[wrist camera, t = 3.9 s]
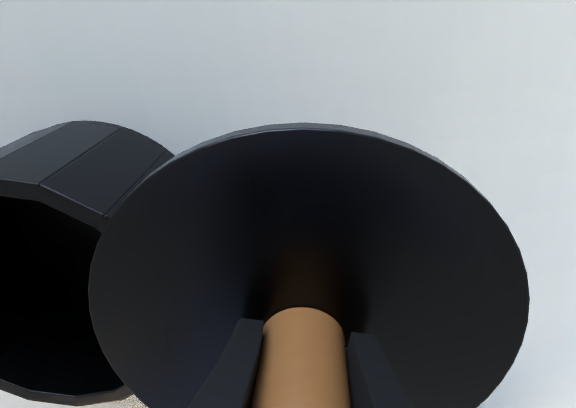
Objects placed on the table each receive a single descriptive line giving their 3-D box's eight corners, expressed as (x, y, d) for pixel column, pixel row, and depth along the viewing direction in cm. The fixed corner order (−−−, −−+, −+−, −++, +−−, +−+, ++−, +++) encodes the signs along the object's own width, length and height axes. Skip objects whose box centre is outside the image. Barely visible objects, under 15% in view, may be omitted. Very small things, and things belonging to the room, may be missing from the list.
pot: (210, 314, 24) (177, 419, 18) (25, 290, 24) (-70, 388, 18) (219, 137, 19) (177, 202, 13) (-17, 105, 19) (-172, 155, 13)
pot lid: (440, 452, 15) (483, 601, 12) (121, 412, 15) (57, 551, 11) (590, 150, 10) (774, 249, 6) (81, 83, 10) (-72, 140, 6)
